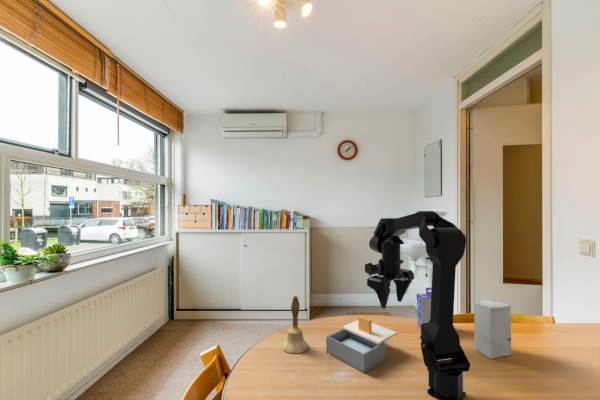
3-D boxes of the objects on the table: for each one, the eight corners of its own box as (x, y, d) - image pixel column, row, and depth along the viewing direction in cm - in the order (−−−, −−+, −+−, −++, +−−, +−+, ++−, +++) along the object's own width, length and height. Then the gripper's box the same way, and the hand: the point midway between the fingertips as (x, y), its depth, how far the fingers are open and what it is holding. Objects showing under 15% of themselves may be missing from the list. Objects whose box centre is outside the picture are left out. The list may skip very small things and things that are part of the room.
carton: (385, 359, 83) (385, 342, 83) (364, 373, 77) (363, 354, 77) (347, 341, 94) (347, 326, 94) (326, 352, 87) (326, 336, 87)
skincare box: (491, 359, 83) (490, 308, 83) (473, 349, 88) (472, 301, 88) (512, 355, 85) (512, 305, 85) (493, 345, 91) (493, 298, 91)
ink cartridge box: (443, 326, 105) (443, 286, 105) (450, 333, 99) (450, 291, 99) (416, 325, 106) (415, 286, 106) (421, 332, 100) (421, 291, 100)
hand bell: (288, 339, 96) (287, 291, 96) (311, 343, 93) (311, 294, 93) (277, 351, 88) (277, 299, 89) (303, 356, 86) (302, 302, 86)
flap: (396, 334, 88) (396, 319, 88) (378, 344, 81) (378, 328, 81) (361, 320, 98) (360, 306, 98) (342, 328, 92) (342, 314, 92)
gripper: (385, 250, 105) (386, 292, 105) (353, 256, 93) (353, 305, 93) (414, 254, 96) (415, 300, 96) (382, 262, 84) (383, 315, 84)
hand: (391, 304), depth 93 cm, fingers open, 9 cm apart
